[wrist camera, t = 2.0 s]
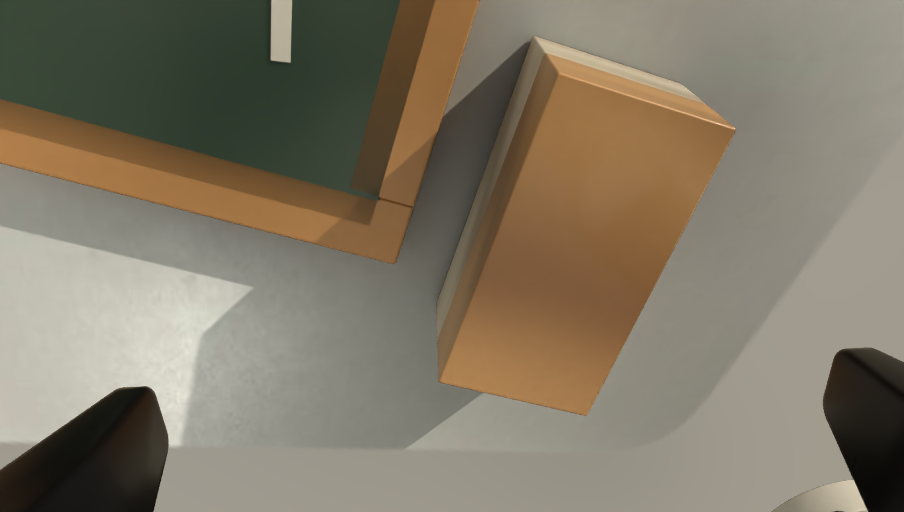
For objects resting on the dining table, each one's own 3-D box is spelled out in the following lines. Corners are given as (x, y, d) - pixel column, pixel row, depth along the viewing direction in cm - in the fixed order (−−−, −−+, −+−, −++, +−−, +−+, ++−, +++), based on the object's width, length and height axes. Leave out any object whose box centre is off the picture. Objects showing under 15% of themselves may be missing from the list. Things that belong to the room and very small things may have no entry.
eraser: (532, 35, 19) (557, 71, 15) (681, 83, 20) (738, 129, 16) (435, 305, 23) (437, 382, 19) (563, 336, 24) (587, 417, 20)
